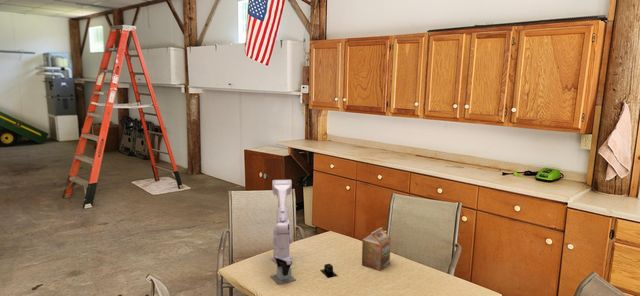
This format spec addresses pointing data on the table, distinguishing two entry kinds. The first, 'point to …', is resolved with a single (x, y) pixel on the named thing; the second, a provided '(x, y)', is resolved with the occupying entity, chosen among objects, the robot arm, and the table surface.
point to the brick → (280, 274)
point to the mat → (282, 280)
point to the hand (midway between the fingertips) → (283, 273)
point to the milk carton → (376, 250)
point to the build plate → (328, 271)
